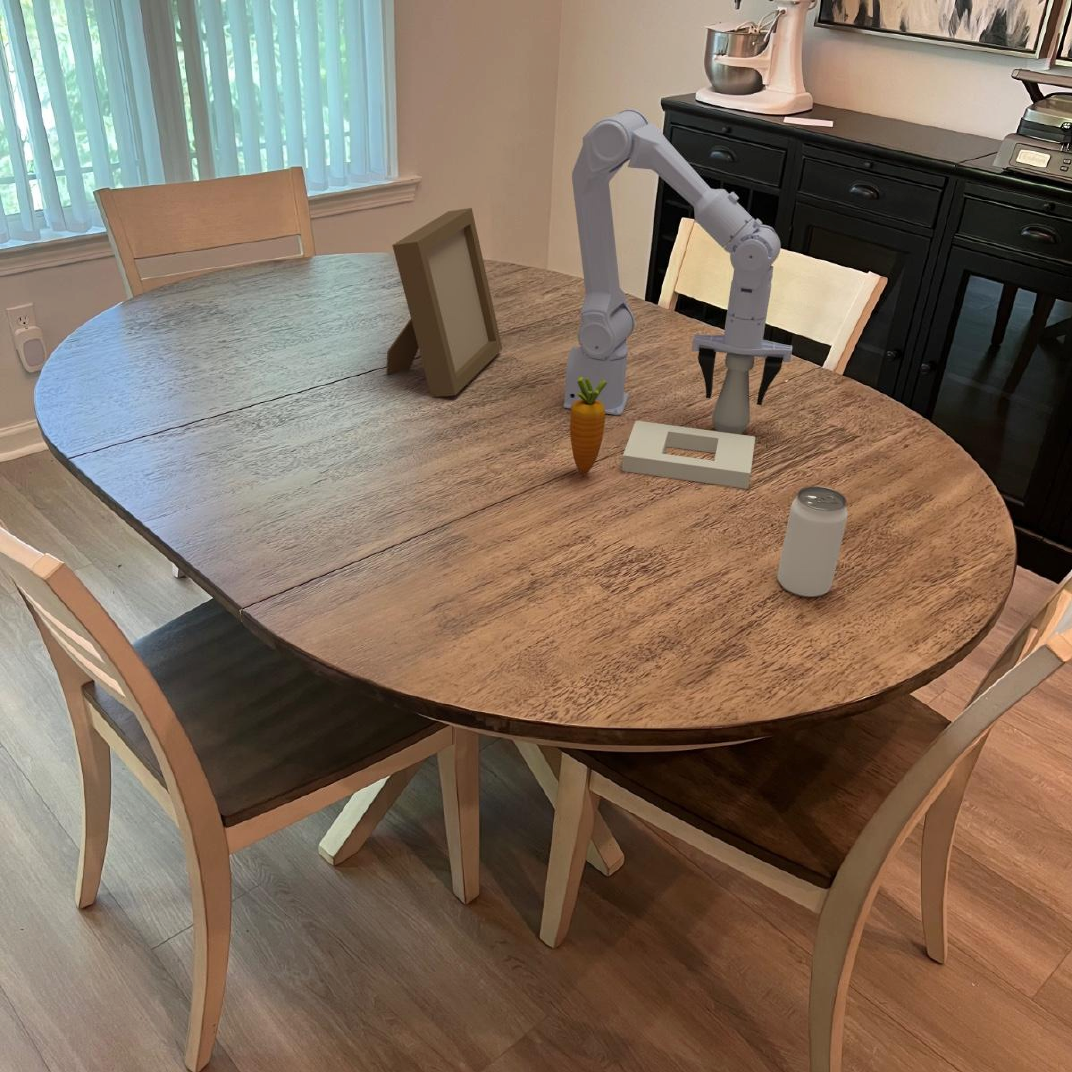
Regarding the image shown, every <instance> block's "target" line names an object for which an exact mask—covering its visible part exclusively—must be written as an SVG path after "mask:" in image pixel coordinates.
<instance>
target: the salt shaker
mask: <svg viewBox="0 0 1072 1072" xmlns="http://www.w3.org/2000/svg"><path fill="white" fill-rule="evenodd" d="M724 364H725V367H726V368H727V371H726V374H725V378H724V379H723V380H724V381H723V383H722V386H721V390H720V391H719V395H718V398H717V401H716V404H715V406H714V409H713V412H712V415H711V416H712V418H711V419H712V423H713V426H714V431H717V432H724V433H732V434H739V435H744V434H743V433H744V432H745V430H746V429H747V427H748V426H749V424H750V421H751V414H750V412H751V411H750V409H751V408H750V371H751V370H753V368H754V365H755V357H754V356H751V355H743V354H736V353H726V356H725V359H724Z"/></svg>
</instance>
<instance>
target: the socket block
mask: <svg viewBox="0 0 1072 1072" xmlns="http://www.w3.org/2000/svg"><path fill="white" fill-rule="evenodd" d="M631 429H632V430H631V433H630V435H629V439H628V441H627V443H626V446H625V449H624V452H623V454H622V463H621V471H622V472H627V473H632V474H633V473H635V474H641V475H642V474H643V475H649V476H655V477H663V478H670V479H675V480H683V481H690V482H697V483H704V484H711V485H717V486H725V487H732V488H738V489H745V490H748V489H749V486H750V480H751V475H752V474H751V472H752V465H753V458H754V449H755V441H756V436H753V435H747V434H746V435H744V434H741V435H739V434H732V433H724V432H717V431H716V430H711V429H710V430H708V429H701V428H700V429H699V428H694V427H686V426H677V425H671V424H664V423H658V422H657V423H656V422H650V421H642V420H635V421H634V424H633V427H632V428H631ZM667 447H668V448H674V449H675V448H676V449H681V450H682V449H683V450H688V451H689V450H690V451H695V452H696V451H697V452H705V453H712V454H714V460H710V459H704V458H696V457H690V456H684V455H683V456H682V455H674V454H669V453H666V449H667Z"/></svg>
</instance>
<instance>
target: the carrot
mask: <svg viewBox="0 0 1072 1072" xmlns="http://www.w3.org/2000/svg"><path fill="white" fill-rule="evenodd" d="M577 382H578V385H579V387H580V389H581V392H582V393H581V392H579V393H577V395H578V396H579V397H580V398H581V399H580V400H577V401H575V402H574V403H572V405H571V409H570V413H569V414H570V416H569V417H570V418H569V419H570V421H569V429H570V430H569V433H570V434H569V435H570V444H571V451H572V457H573V461H574V463H575V467H576V468H577V470H578V472H579V474H580V476H583V477H584V476H586V475H587V474H588V473H589V472H590V470H592V468H593V467H594V465H595V463H596V460H597V459H598V455H599V452H600V450H601V446H602V442H603V439H604V438H603V437H604V430H605V422H606V413H605V409H604V405H603V403H602V402H600V401H597V400H596V399H597V397H598V395H599V394H600V392H601V391H602V389H603V388H604V387H605V386H606V384H607V382H606V381H604V380H603V381H601V382H600V384H599V385H598V387H597V389H596V390H595V391H594V392H593V388H592V385H591V382H590V380H589V379H588V378H586V379H585V381H584V379H583V377H580V378H578V380H577ZM585 382H586V384H585ZM586 385H587V387H588V390H587V387H586ZM588 391H589V392H588Z"/></svg>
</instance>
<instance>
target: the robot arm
mask: <svg viewBox="0 0 1072 1072" xmlns="http://www.w3.org/2000/svg"><path fill="white" fill-rule="evenodd" d="M626 163H628V164H627V168H632V169H641V170H642V169H643V170H652V171H654V173H656V174H657V176H659V177H660V178H661V179H662V180H663V181H665V183H666V184H668V185H669V186H670V188H672V189H673V190H674V191H676V192H677V193H678V194H679V196H681V197H682V198H683V199H685V201H687V202H688V203H689V204H690V205H691V206H692V207H693V209H694V210H693V211H694V220H695V222H696V223H697V224H698V225H699V226H700V227H701V228H702V229H703V230H704V231H705V232H706V233H707V234H708V235H709V236H710V237H711V238H712V239H713V240H714V242H716V243H717V244H718V245H719V246H720V247H721V248H722V249H723V250H724V251H725V252H726V253H728V254H729V260H730V264H731V266H732V268H733V275H732V280H731V282H730V283H731V284H730V290H729V297H728V305H727V309H726V311H727V312H726V317H725V325H724V333H723V334H697V333H694V335H693V337H692V345H691V352H698V355H697V360H698V364H699V367H700V370H701V372H702V375H703V376H702V377H703V378H704V384H705V399H712V398H711V397H712V393H713V384H714V383H713V382H714V370H715V363H716V356H717V353H722V354H727V353H736V354H743V355H751V356H754V358H763V359H764V366H763V369H762V370H763V371H762V376H761V377H762V378H761V381H760V385H759V389H758V394H757V401H756V405H757V406H762V403H763V400H764V397H765V395H766V393H767V391H768V390H769V388H770V385H771V384H772V382H773V381H774V379H775V378H776V377H777V376H778V374H779V373H780V371H781V370H782V367H783V366H782V365H783V362H784V363H790V362H791V358H792V352H793V345H789V344H783V343H779V342H775V341H770V340H767V339H764V335H765V328H766V321H767V318H768V317H767V315H768V309H769V304H770V297H771V290H772V279H773V277H774V276H773V272H774V266H773V264H774V262H775V261H776V260H777V259H778V257H779V254H780V252H781V247H782V245H781V240H780V237H779V236H778V234H777V233H776V231H775V229H774V228H773V227H772V226H770V225H767V224H763V222H762V221H761V220H760V219H759V218H756V219H755V218H754V217H753V216H751V215H750V213H749V212H748V211H746V209H745V208H744V207H743V206H742V205H741V204H740V203H739V202H738V200H739V199H740V197H739V196H738V195H737V194H736V193H735V191H731V192H730V193H729V192H728V191H727V190H726V189H724V188H716V189H715V188H711V187H710V186H709V185H708V184H707V183H706V181H704V179H703V178H702V177H701V176H700V175H699V174H698V173H697V171H696V170H695V169H694V168H693V167H692V166H691V165H690V164H689V162H688V161H687V160H686V159H685V158H684V156H682V155H681V154H680V152H679V151H678V150H677V149H676V148H675V147H674V146H673V145H672V144H671V142H670V141H669V140H668V139H667V138H666V137H665V135H664V134H663V132H662V131H661V130H660V128H659V127H658V126H657V125H655V124H654V123H653V122H649V120H648V118H647V117H646V116H645V115H644V114H643V113H642V112H641V111H639V110H636V109H633V108H631V109H630V108H629V109H624V110H621V111H620V112H618V113H617V114H615V115H612V116H610V117H606V118H602V119H600V120H598V121H597V122H595V124H594V125H593V126H592V127H591V128H590V129H589V130H588V131H587V132H586V133H585V134H584V135H583V136H582V146H581V148H580V150H579V153H578V157H577V159H576V162H575V164H574V166H573V169H572V172H571V181H572V189H573V199H574V207H575V215H576V223H577V230H578V231H577V232H578V240H579V241H578V242H579V248H580V256H581V257H580V258H581V263H582V264H581V265H582V272H583V281H584V283H583V284H584V288H585V289H584V290H585V291H584V292H585V297H584V299H583V301H582V302H583V303H582V306H581V309H580V313H579V314H580V326H579V329H578V332H577V342H578V345H579V347H578V346H577V347H575V346H574V347H573V346H572V347H571V348H570V350H569V352H568V356H567V360H566V369H565V370H566V371H565V382H564V383H565V385H564V386H565V387H564V402H563V408H565V409H570V410H571V405H572V403H574V402H575V401H577V400H580V399H581V398H580V397H579V396H578V395H577V393H579V392H581V389H580V387H579V385H578V382H577V380H578V378H580V377H583V379H584V381H585V379H586V378H588V379H589V380H590V382H591V385H592V388H593V392H594V391H595V390H596V389H597V387H598V385H599V384H600V382H601V381H603V380H604V381H606V382H607V384H606V386H605V387H604V388H603V389H602V391H601V392H600V394H599V395H598V397H597V399H596V400H597V401H600V402H602V403H603V405H604V409H605V414H607V415H608V414H610V415H615V416H621V415H623V413H624V410H625V407H626V404H627V402H628V400H629V397H630V394H629V393H626V392H625V388H626V387H625V386H626V377H627V375H626V374H627V366H628V365H627V363H628V354H629V348H628V344H627V339H628V338H629V337H630V336H631V335H632V334H633V332H634V330H635V327H636V319H635V316H634V314H633V312H632V310H631V309H630V307H629V304H628V297H627V294H626V293H625V292H624V290H623V289H622V288H621V286H620V285H621V284H620V275H619V268H618V257H617V248H616V246H617V245H616V237H615V229H614V218H613V210H612V199H611V190H610V182H611V180H612V179H613V178H614V177H615V176H616V175H617V174H618V172H619V171H620V170H621V168H622V167H623V165H625V164H626ZM585 384H586V382H585ZM586 387H587V385H586ZM587 390H588V387H587ZM588 392H589V391H588ZM581 393H582V392H581Z"/></svg>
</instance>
